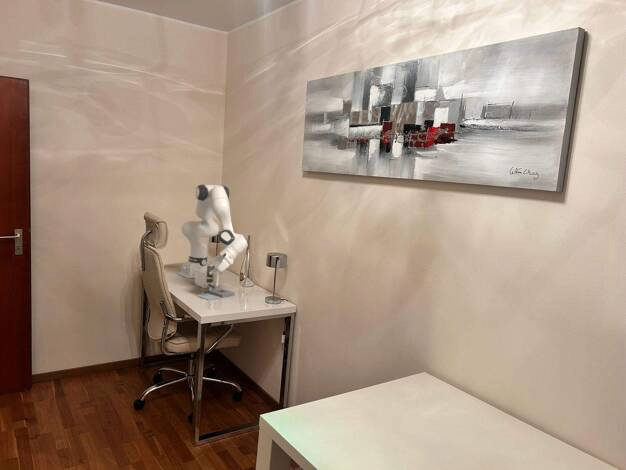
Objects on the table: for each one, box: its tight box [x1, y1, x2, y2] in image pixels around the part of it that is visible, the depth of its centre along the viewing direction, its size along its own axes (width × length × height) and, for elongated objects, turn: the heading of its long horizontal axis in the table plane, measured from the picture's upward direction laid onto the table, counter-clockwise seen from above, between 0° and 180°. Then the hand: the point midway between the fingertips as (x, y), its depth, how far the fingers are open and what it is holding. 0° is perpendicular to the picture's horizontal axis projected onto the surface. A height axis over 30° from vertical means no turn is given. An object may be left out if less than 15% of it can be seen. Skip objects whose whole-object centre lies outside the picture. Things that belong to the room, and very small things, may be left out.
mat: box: [196, 293, 221, 301], centre depth 289 cm, size 10×9×1 cm
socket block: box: [206, 287, 236, 299], centre depth 298 cm, size 14×10×3 cm
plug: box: [206, 263, 214, 283], centre depth 287 cm, size 5×5×10 cm
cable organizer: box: [194, 268, 220, 289], centre depth 314 cm, size 15×11×12 cm
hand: (208, 272), depth 287 cm, fingers closed on plug, 4 cm apart
